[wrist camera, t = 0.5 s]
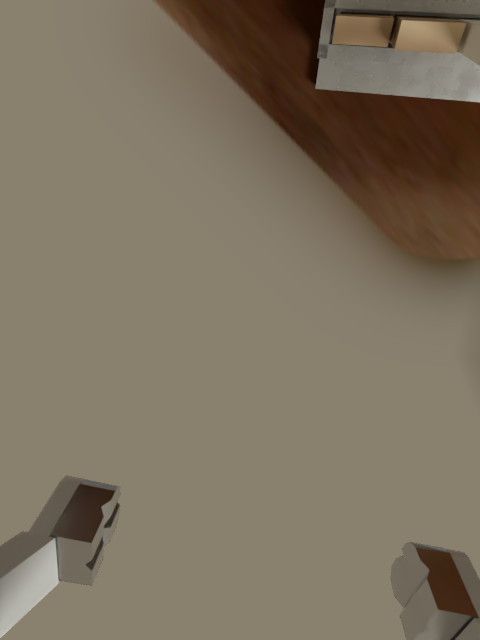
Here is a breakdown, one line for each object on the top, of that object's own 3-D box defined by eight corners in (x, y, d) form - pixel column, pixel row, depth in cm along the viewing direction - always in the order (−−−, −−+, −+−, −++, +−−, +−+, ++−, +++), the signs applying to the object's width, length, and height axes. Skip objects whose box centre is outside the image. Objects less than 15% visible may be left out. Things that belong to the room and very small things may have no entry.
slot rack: (337, -56, 36) (333, -61, 32) (624, -51, 32) (661, -57, 28) (316, 86, 44) (311, 95, 40) (542, 104, 40) (562, 116, 36)
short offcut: (340, 12, 38) (336, 15, 32) (390, 14, 37) (394, 18, 31) (336, 36, 39) (331, 43, 33) (384, 38, 38) (387, 47, 33)
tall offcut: (395, 14, 37) (401, 20, 30) (446, 16, 36) (466, 23, 29) (389, 39, 38) (394, 50, 31) (438, 42, 37) (455, 53, 30)
